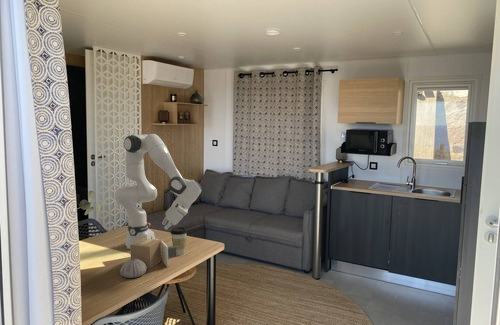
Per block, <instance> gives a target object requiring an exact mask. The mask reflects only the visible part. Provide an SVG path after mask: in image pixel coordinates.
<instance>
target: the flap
mask: <svg viewBox="0 0 500 325" xmlns="http://www.w3.org/2000/svg"><path fill="white" fill-rule="evenodd" d="M174 257H177V255H176V247H175V246H173V245H171V246H168V245H167V244H166V243H165V242H164V240H161V261H162V262H163V264H164V265H165V267H167V268H168V267H169V258H174Z"/></svg>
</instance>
